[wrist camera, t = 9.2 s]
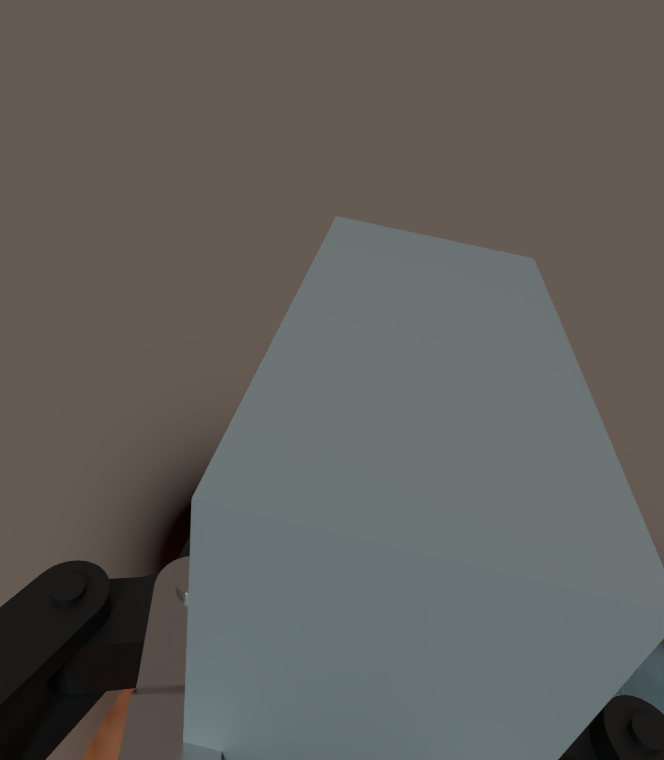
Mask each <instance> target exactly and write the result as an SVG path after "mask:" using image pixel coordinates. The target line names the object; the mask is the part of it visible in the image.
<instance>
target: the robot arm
mask: <svg viewBox="0 0 664 760" xmlns="http://www.w3.org/2000/svg"><path fill="white" fill-rule="evenodd" d="M190 535H191V534H190ZM189 563H190V536H189V539H188V540H187V542H186V545H185V546H184V549H183V551H182V552H181V555H180V556H179V557H178V558H177V559H176V560H175V561H173V562H171V563H170V564H168V565H167V566H166V567H165V568H164V569H163V570H162V571H160V572H158V573H155V574H153V575H149V576H145V577H137V578H136V577H135V578H119V579H109V578H108V576H107V574H106V573H105V571H104V570H103V569H102V568H101V567H99V566H98V565H96V564H93V563H91V562H87V561H68V562H64V563H60V564H58V565H55V566H53V567H51V568H50V569H48V570H46V571H45V572H43V573H42V574H41V575H39V576H38V577H37V578H36V579H35V580H33V581H32V582H31V583H30V584H28V585H27V586H26V587H25V588H24V589H22V590H21V591H20V592H19V593H17V594H16V595H15V596H14V597H12V598H11V599H10V600H9V601H8V602H6V603H5V604H4V605H3V606H1V607H0V760H46V758H47V757H48V756H49V755H50V754H51V753H52V752H53V751H54V749H55V748H56V747H57V746H58V745H59V744H60V743H61V742H62V740H63V739H64V738H65V737H66V736H67V735H68V733H70V731H71V730H72V729H73V728H74V727H75V726H76V725H77V723H79V721H80V720H81V719H82V718H83V717H84V716H85V715H86V714H87V712H88V711H89V710H90V709H91V708H92V707H93V706H94V704H95V703H96V702H97V701H98V700H99V699H100V698H101V697H102V696H103V694H104V693H105V692H106V691H112V690H121V689H131V688H136V689H135V691H133V692H132V695H131V698H130V702H129V707H128V711H127V717H126V722H125V728H124V733H123V739H122V744H121V750H120V755H119V760H221V753H222V751H218V750H214V749H210V748H206V747H202V746H198V745H194V744H190V743H186V742H183V729H184V702H185V674H186V646H187V618H188V591H189ZM558 760H664V715H663V714H662V713H661V712H660V711H659V710H658V709H657V708H655V707H654V706H652V705H651V704H649V703H648V702H646V701H644V700H642V699H640V698H637V697H634V696H629V695H620V696H616V697H614V698H612V699H611V700H610V701H609V702H608V703H607V704H606V705H605V706H604V708H603V709H602V710H601V711H600V712H599V713H598V714H597V716H596V717H595V718H594V719H593V720H592V721H591V722H590V724H589V725H588V726H587V727H586V728H585V729H584V730H583V732H582V733H581V734H580V735H579V736H578V737H577V738H576V740H575V741H574V742H573V743H572V744H571V745H570V747H569V748H568V749H567V750H566V751H565V752H564V753H563V755H562V756H561V757H560V758H559V759H558Z"/></svg>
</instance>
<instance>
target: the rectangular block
mask: <svg viewBox="0 0 664 760" xmlns="http://www.w3.org/2000/svg"><path fill="white" fill-rule="evenodd" d="M663 639H664V567H663V565H662V562H661V560H660V558H659V555H658V553H657V550H656V548H655V546H654V543H653V541H652V539H651V536H650V534H649V532H648V529H647V527H646V524H645V522H644V520H643V517H642V515H641V512H640V510H639V508H638V505H637V503H636V500H635V498H634V496H633V493H632V491H631V489H630V486H629V484H628V482H627V479H626V477H625V475H624V472H623V470H622V467H621V465H620V463H619V460H618V458H617V455H616V453H615V451H614V448H613V446H612V443H611V441H610V439H609V436H608V434H607V432H606V429H605V427H604V424H603V422H602V420H601V418H600V415H599V413H598V410H597V408H596V406H595V403H594V401H593V398H592V396H591V394H590V391H589V389H588V386H587V384H586V382H585V379H584V377H583V375H582V372H581V370H580V367H579V365H578V363H577V360H576V358H575V356H574V353H573V351H572V349H571V346H570V344H569V341H568V339H567V336H566V334H565V332H564V329H563V327H562V325H561V322H560V320H559V317H558V315H557V313H556V310H555V308H554V306H553V303H552V301H551V299H550V296H549V294H548V291H547V289H546V287H545V284H544V282H543V280H542V277H541V275H540V272H539V270H538V268H537V265H536V263H535V261H534V259H533V258H529V257H524V256H520V255H515V254H511V253H506V252H501V251H497V250H492V249H487V248H482V247H478V246H473V245H468V244H464V243H459V242H455V241H450V240H445V239H440V238H436V237H431V236H427V235H422V234H418V233H413V232H408V231H404V230H399V229H394V228H389V227H385V226H380V225H376V224H371V223H366V222H362V221H357V220H352V219H348V218H343V217H338V216H336V218H335V220H334V222H333V224H332V226H331V228H330V230H329V232H328V234H327V236H326V237H325V240H324V241H323V243H322V245H321V247H320V249H319V251H318V253H317V255H316V257H315V259H314V261H313V263H312V265H311V267H310V269H309V271H308V273H307V275H306V277H305V279H304V281H303V283H302V285H301V286H300V288H299V290H298V292H297V294H296V296H295V298H294V300H293V302H292V304H291V306H290V308H289V310H288V312H287V314H286V316H285V318H284V320H283V321H282V323H281V325H280V327H279V329H278V331H277V333H276V335H275V337H274V339H273V341H272V343H271V345H270V347H269V349H268V351H267V353H266V355H265V357H264V359H263V361H262V362H261V365H260V366H259V368H258V370H257V372H256V374H255V376H254V378H253V380H252V382H251V384H250V386H249V388H248V390H247V392H246V394H245V396H244V398H243V400H242V402H241V404H240V405H239V407H238V410H237V411H236V413H235V416H234V418H233V419H232V421H231V423H230V425H229V427H228V429H227V431H226V433H225V435H224V437H223V439H222V441H221V443H220V444H219V446H218V448H217V450H216V452H215V454H214V456H213V458H212V460H211V462H210V464H209V466H208V468H207V470H206V472H205V474H204V476H203V478H202V480H201V482H200V484H199V485H198V487H197V489H196V491H195V494H194V495H193V497H192V508H191V535H190V563H189V591H188V618H187V646H186V674H185V702H184V729H183V742H186V743H190V744H194V745H198V746H202V747H206V748H210V749H214V750H218V751H222V753H221V760H558V759H559V758H560V757H561V756H562V755H563V753H564V752H565V751H566V750H567V749H568V748H569V747H570V745H571V744H572V743H573V742H574V741H575V740H576V738H577V737H578V736H579V735H580V734H581V733H582V732H583V730H584V729H585V728H586V727H587V726H588V725H589V724H590V722H591V721H592V720H593V719H594V718H595V717H596V716H597V714H598V713H599V712H600V711H601V710H602V709H603V708H604V706H605V705H606V704H607V703H608V702H609V701H610V700H611V698H612V697H613V696H614V695H615V694H616V693H617V691H618V690H619V689H620V688H621V687H622V686H623V685H624V683H625V682H626V681H627V680H628V679H629V678H630V677H631V675H632V674H633V673H634V672H635V671H636V670H637V669H638V667H639V666H640V665H641V664H642V663H643V662H644V661H645V659H646V658H647V657H648V656H649V655H650V654H651V653H652V651H653V650H654V649H655V648H656V647H657V646H658V644H659V643H660V642H661V641H662V640H663Z"/></svg>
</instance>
